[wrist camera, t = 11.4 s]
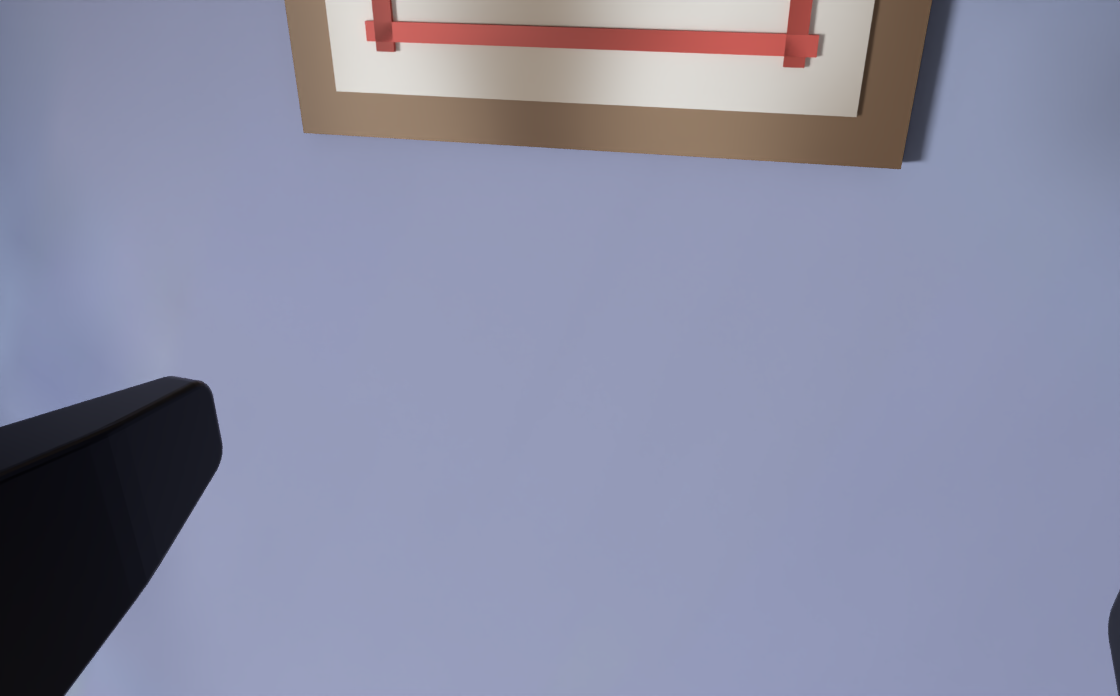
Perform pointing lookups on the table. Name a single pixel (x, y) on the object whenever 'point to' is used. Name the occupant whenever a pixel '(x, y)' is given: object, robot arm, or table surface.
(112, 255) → the table surface
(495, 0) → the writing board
